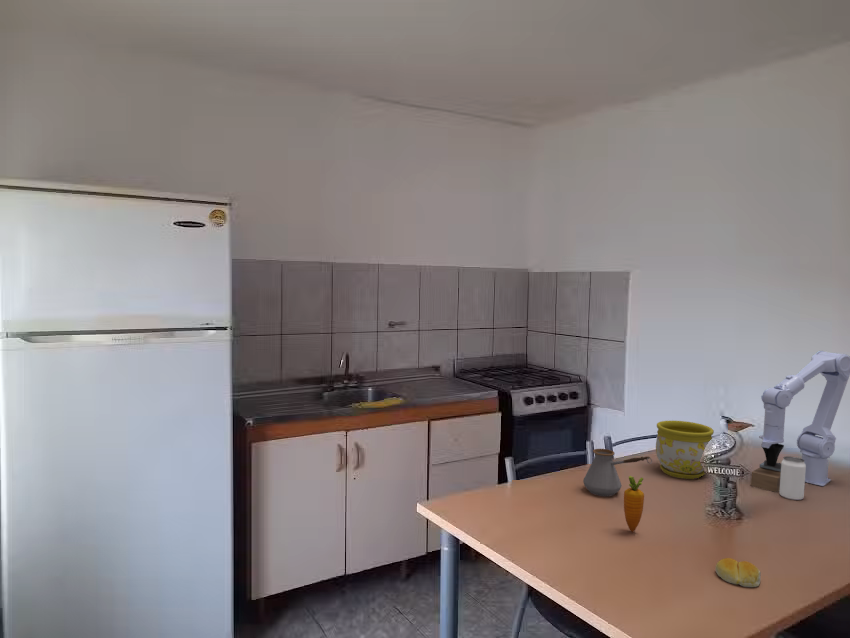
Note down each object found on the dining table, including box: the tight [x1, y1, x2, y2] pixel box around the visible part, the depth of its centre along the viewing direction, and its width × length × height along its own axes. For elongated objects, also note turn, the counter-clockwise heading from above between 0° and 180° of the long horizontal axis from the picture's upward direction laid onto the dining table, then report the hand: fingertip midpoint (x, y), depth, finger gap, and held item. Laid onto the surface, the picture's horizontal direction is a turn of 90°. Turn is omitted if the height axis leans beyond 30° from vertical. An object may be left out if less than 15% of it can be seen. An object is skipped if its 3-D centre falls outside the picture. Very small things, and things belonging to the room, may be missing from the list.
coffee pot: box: [582, 448, 653, 497], centre depth 181 cm, size 21×12×15 cm, turn 40°
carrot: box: [623, 475, 645, 533], centre depth 155 cm, size 5×5×15 cm
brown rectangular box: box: [750, 467, 781, 493], centre depth 197 cm, size 14×8×5 cm, turn 133°
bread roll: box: [715, 557, 762, 588], centre depth 133 cm, size 8×9×4 cm
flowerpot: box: [655, 420, 715, 480], centre depth 205 cm, size 18×18×16 cm
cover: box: [758, 459, 782, 472], centre depth 199 cm, size 7×8×2 cm
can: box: [778, 455, 806, 501], centre depth 185 cm, size 6×6×12 cm
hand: (771, 465), depth 196 cm, fingers closed
